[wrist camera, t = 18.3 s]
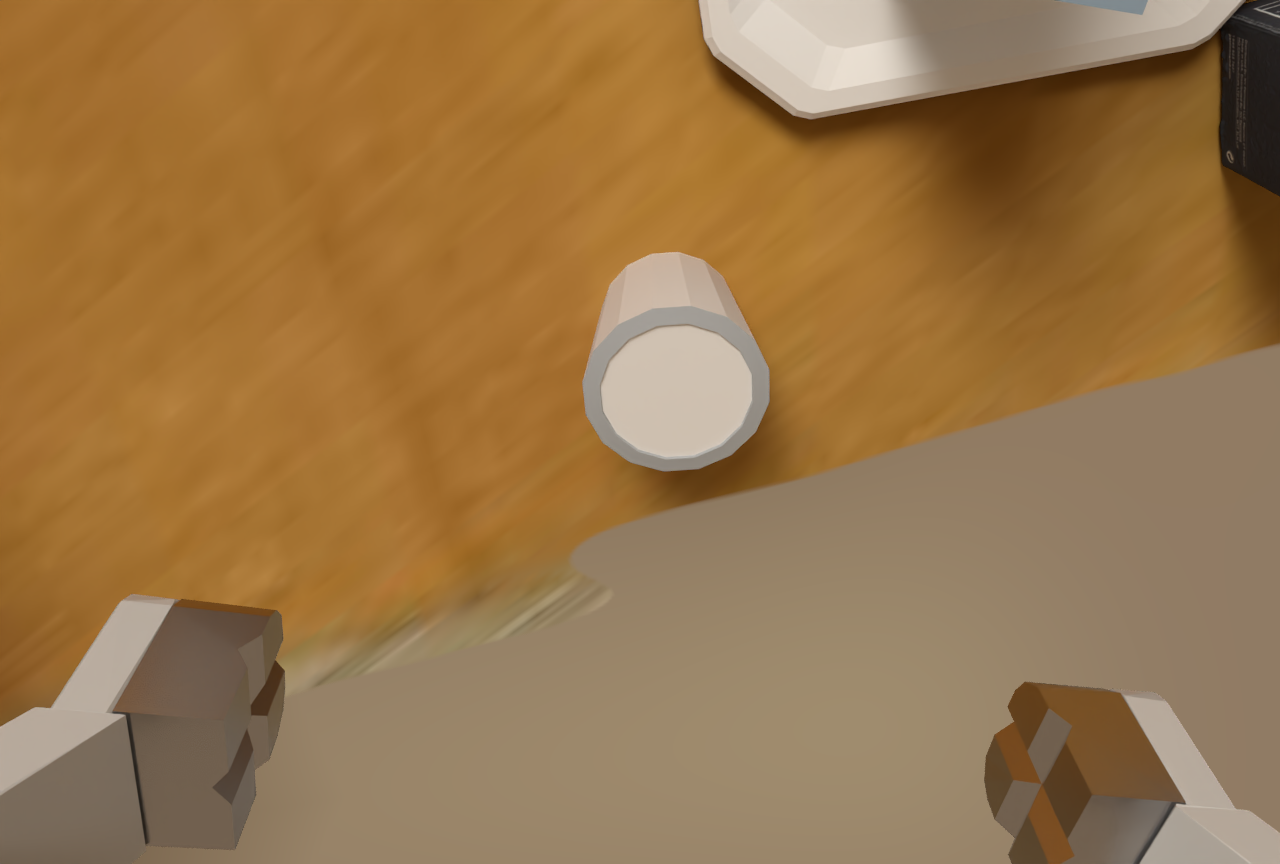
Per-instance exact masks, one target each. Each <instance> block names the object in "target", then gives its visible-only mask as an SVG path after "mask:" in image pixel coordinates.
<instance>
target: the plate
mask: <svg viewBox="0 0 1280 864" xmlns="http://www.w3.org/2000/svg"><path fill="white" fill-rule="evenodd" d="M698 1H699V8H700V15H701V23H702V30H703V37H704V40H705V42H706V44H707V46H708V47H709V49H710V51H711V53H712V54H713V56H714V57H716V58H717V59H718V60H720V61H721V62H722V63H724V64H725V65H726V66H728V67H729V68H730V69H732V70H733V71H734V72H736V73H737V74H738V75H740V76H741V77H742V78H744V79H745V80H746V81H748V82H749V83H750V84H752V85H753V86H754V87H756V88H757V89H758V90H760V91H761V92H762V93H764V94H765V95H766V96H768V97H769V98H770V99H772V100H773V101H774V102H776V103H777V104H778V105H780V106H781V107H783V108H784V109H785V110H787V111H788V112H789V113H791V114H792V115H793V116H798V117H802V118H807V119H816V118H821V117H827V116H832V115H837V114H843V113H848V112H854V111H859V110H865V109H870V108H876V107H881V106H886V105H892V104H897V103H903V102H908V101H914V100H919V99H925V98H930V97H935V96H941V95H946V94H952V93H957V92H963V91H968V90H974V89H979V88H984V87H990V86H995V85H1001V84H1006V83H1012V82H1017V81H1022V80H1028V79H1033V78H1039V77H1044V76H1050V75H1055V74H1061V73H1066V72H1071V71H1077V70H1082V69H1088V68H1093V67H1099V66H1104V65H1110V64H1115V63H1120V62H1126V61H1131V60H1137V59H1142V58H1148V57H1153V56H1159V55H1164V54H1169V53H1175V52H1180V51H1186V50H1191V49H1193V48H1195V47H1197V46H1199V45H1200V44H1202V43H1204V42H1206V41H1207V40H1209V39H1211V38H1212V36H1213V35H1214V34H1215V33H1216V32H1217V31H1218V30H1219V29H1220V28H1221V27H1222V26H1223V24H1224V23H1225V22H1226V21H1227V20H1228V19H1229V18H1230V17H1231V16H1232V15H1233V14H1234V13H1235V11H1236V10H1237V9H1238V8H1239V7H1240V6H1241V5H1242V4H1243V3H1244V2H1245V1H1246V0H1148V1H1147V4H1146V7H1145V9H1144V12H1143V15H1139V14H1133V13H1127V12H1121V11H1115V10H1109V9H1103V8H1097V7H1091V6H1085V5H1079V4H1073V3H1067V2H1061V1H1055V0H698Z"/></svg>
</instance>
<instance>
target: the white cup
mask: <svg viewBox="0 0 1280 864" xmlns="http://www.w3.org/2000/svg"><path fill="white" fill-rule="evenodd" d="M582 383H583V392H584V401H585V410H586V416H587V417H588V419H589V421H590V422H591V424H592V426H593V427H594V429H595V431H596V432H597V434H598V436H599V437H600V439H601V440H602V442H603V443H604V444H605V445H607V446H608V447H610V448H611V449H612V450H614V451H615V452H616V453H618V454H619V455H621V456H622V457H623V458H625V459H626V460H628V461H629V462H631V463H634V464H638V465H642V466H645V467H649V468H653V469H656V470H660V471H677V470H692V469H700V468H702V467H705V466H707V465H709V464H712V463H714V462H717V461H719V460H721V459H724V458H726V457H728V456H731V455H732V454H733V453H734V452H735V451H736V450H737V449H738V448H739V447H740V446H741V445H743V444H744V443H745V442H746V441H747V440H748V439H749V438H750V437H751V436H752V435H753V434H754V433H755V432H756V430H757V428H758V426H759V424H760V422H761V419H762V417H763V415H764V413H765V411H766V408H767V406H768V404H769V368H768V366H767V364H766V362H765V360H764V358H763V356H762V354H761V352H760V350H759V348H758V345H757V343H756V341H755V339H754V337H753V335H752V333H751V331H750V329H749V327H748V325H747V323H746V321H745V319H744V317H743V315H742V313H741V311H740V309H739V307H738V305H737V303H736V301H735V299H734V297H733V295H732V293H731V292H730V290H729V288H728V286H727V284H726V282H725V280H724V278H723V276H722V275H721V274H720V273H718V272H717V271H716V270H715V269H714V268H712V267H711V266H710V265H709V264H708V263H706V262H705V261H704V260H702V259H699V258H696V257H693V256H689V255H686V254H683V253H680V252H671V253H657V254H650V255H648V256H646V257H644V258H642V259H640V260H637V261H635V262H633V263H631V264H629V265H627V266H626V267H625V268H624V270H623V271H622V272H621V273H620V274H619V275H618V276H617V277H616V278H615V279H614V281H613V282H612V283H611V284H610V286H609V289H608V292H607V295H606V297H605V300H604V303H603V306H602V310H601V313H600V317H599V321H598V325H597V329H596V333H595V336H594V340H593V344H592V348H591V352H590V356H589V359H588V363H587V367H586V371H585V375H584V379H583V382H582Z"/></svg>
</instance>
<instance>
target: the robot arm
mask: <svg viewBox="0 0 1280 864" xmlns="http://www.w3.org/2000/svg"><path fill="white" fill-rule="evenodd" d="M282 641H283V629H282V616H281V614H280V613H279V612H278V611H277V610H270V609H262V608H253V607H245V606H237V605H228V604H220V603H211V602H203V601H195V600H186V599H181V600H176V599H169V598H161V597H152V596H144V595H136V594H131V595H129V596H128V597H127V598H125V599H124V600H122V601H121V602H120V603H119V604H118V605H117V607H116V608H115V610H114V611H113V613H112V614H111V616H110V617H109V619H108V620H107V622H106V624H105V625H104V627H103V628H102V630H101V631H100V633H99V634H98V636H97V637H96V639H95V640H94V642H93V644H92V645H91V647H90V648H89V650H88V651H87V653H86V654H85V656H84V657H83V659H82V660H81V662H80V664H79V665H78V667H77V668H76V670H75V671H74V673H73V674H72V676H71V677H70V679H69V680H68V682H67V684H66V685H65V687H64V688H63V690H62V691H61V693H60V694H59V696H58V697H57V699H56V700H55V702H54V704H53V705H52V707H51V708H41V707H34V708H32V709H31V710H29V711H27V712H25V713H24V714H22V715H20V716H18V717H17V718H15V719H13V720H11V721H9V722H8V723H6V724H4V725H2V726H1V727H0V864H132V863H133V862H134V861H135V860H137V859H138V858H139V857H140V856H141V855H142V854H144V853H145V852H146V846H161V847H184V848H204V849H226V850H235V849H236V846H237V844H238V841H239V838H240V836H241V833H242V830H243V828H244V825H245V823H246V820H247V817H248V815H249V812H250V809H251V806H252V804H253V802H254V799H255V796H256V786H255V770H256V769H257V768H258V767H260V766H261V765H262V764H264V763H265V762H267V761H268V760H269V759H270V756H271V753H272V750H273V747H274V745H275V742H276V739H277V736H278V731H279V727H280V722H281V717H282V712H283V707H284V695H285V670H284V669H283V668H282V667H281V666H280V665H279V664H278V663H277V662H276V660H275V658H276V656H277V653H278V651H279V648H280V646H281V643H282ZM1008 709H1009V711H1010V713H1011V716H1012V718H1013V720H1014V722H1013V723H1011V724H1010V725H1008V726H1007V727H1005V728H1004V729H1002V730H1001V731H1000V732H998V733H997V734H995V735H994V738H993V740H992V742H991V745H990V747H989V750H988V752H987V755H986V763H985V777H984V781H985V788H986V793H987V800H988V802H989V805H990V808H991V810H992V813H993V816H994V819H995V820H996V821H997V822H998V823H1000V825H1001V826H1003V827H1004V828H1005V829H1006V830H1007V831H1008V832H1009V833H1010V834H1011V835H1013V837H1014V838H1015V839H1014V841H1013V844H1012V846H1011V849H1010V851H1009V854H1008V855H1009V858H1010V860H1011V863H1012V864H1280V833H1279V832H1278V831H1276V830H1275V829H1274V828H1272V827H1271V826H1269V825H1268V824H1267V823H1265V822H1264V821H1262V820H1261V819H1260V818H1258V817H1257V816H1256V815H1255V814H1253V813H1252V812H1250V811H1247V810H1237V809H1235V807H1234V806H1233V804H1232V803H1231V801H1230V799H1229V798H1228V796H1227V795H1226V793H1225V792H1224V790H1223V789H1222V787H1221V785H1220V784H1219V782H1218V781H1217V779H1216V778H1215V776H1214V775H1213V773H1212V772H1211V770H1210V768H1209V767H1208V765H1207V764H1206V762H1205V761H1204V759H1203V757H1202V756H1201V754H1200V753H1199V751H1198V750H1197V748H1196V747H1195V745H1194V743H1193V742H1192V740H1191V739H1190V737H1189V736H1188V734H1187V732H1186V731H1185V729H1184V728H1183V726H1182V725H1181V723H1180V722H1179V720H1178V719H1177V717H1176V715H1175V714H1174V712H1173V711H1172V709H1171V708H1170V706H1169V704H1168V703H1167V701H1166V700H1164V699H1163V698H1162V697H1160V696H1159V695H1157V694H1156V693H1155V692H1146V691H1133V690H1121V689H1110V690H1107V689H1101V688H1090V687H1078V686H1068V685H1056V684H1045V683H1033V682H1024V683H1023V684H1022V685H1021V686H1020V687H1019V688H1018V689H1016V690H1015V692H1014V694H1013V696H1012V698H1011V700H1010V702H1009V705H1008Z"/></svg>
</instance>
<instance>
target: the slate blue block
mask: <svg viewBox="0 0 1280 864" xmlns="http://www.w3.org/2000/svg"><path fill="white" fill-rule="evenodd" d="M1055 1H1061V2H1067V3H1073V4H1079V5H1085V6H1091V7H1097V8H1103V9H1109V10H1115V11H1121V12H1127V13H1133V14H1139V15H1143V12H1144V9H1145V7H1146V4H1147V1H1148V0H1055Z"/></svg>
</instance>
